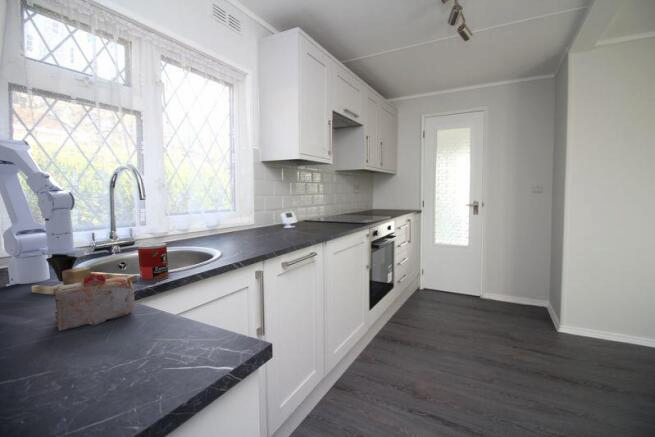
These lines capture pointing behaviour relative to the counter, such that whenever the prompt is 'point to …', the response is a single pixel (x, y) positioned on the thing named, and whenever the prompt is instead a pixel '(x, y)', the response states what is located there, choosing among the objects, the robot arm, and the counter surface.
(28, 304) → the counter surface
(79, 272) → the beige cube
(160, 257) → the canned food
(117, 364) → the counter surface
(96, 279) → the food item
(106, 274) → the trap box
